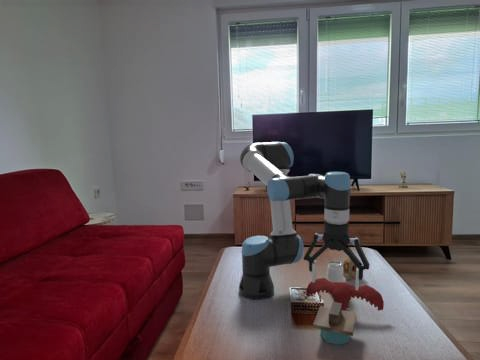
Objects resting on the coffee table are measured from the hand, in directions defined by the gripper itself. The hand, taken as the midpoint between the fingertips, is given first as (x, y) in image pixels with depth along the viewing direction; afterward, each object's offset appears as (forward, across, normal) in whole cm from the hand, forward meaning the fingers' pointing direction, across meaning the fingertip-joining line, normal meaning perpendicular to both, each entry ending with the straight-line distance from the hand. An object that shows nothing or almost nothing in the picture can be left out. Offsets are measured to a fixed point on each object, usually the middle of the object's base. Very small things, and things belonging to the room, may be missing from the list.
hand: (334, 284), depth 104 cm
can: (+18, -4, +31) cm, 37 cm away
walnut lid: (+13, 0, 0) cm, 13 cm away
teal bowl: (+18, +1, -1) cm, 18 cm away
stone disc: (+19, +1, +46) cm, 50 cm away
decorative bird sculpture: (+18, +1, +15) cm, 24 cm away
